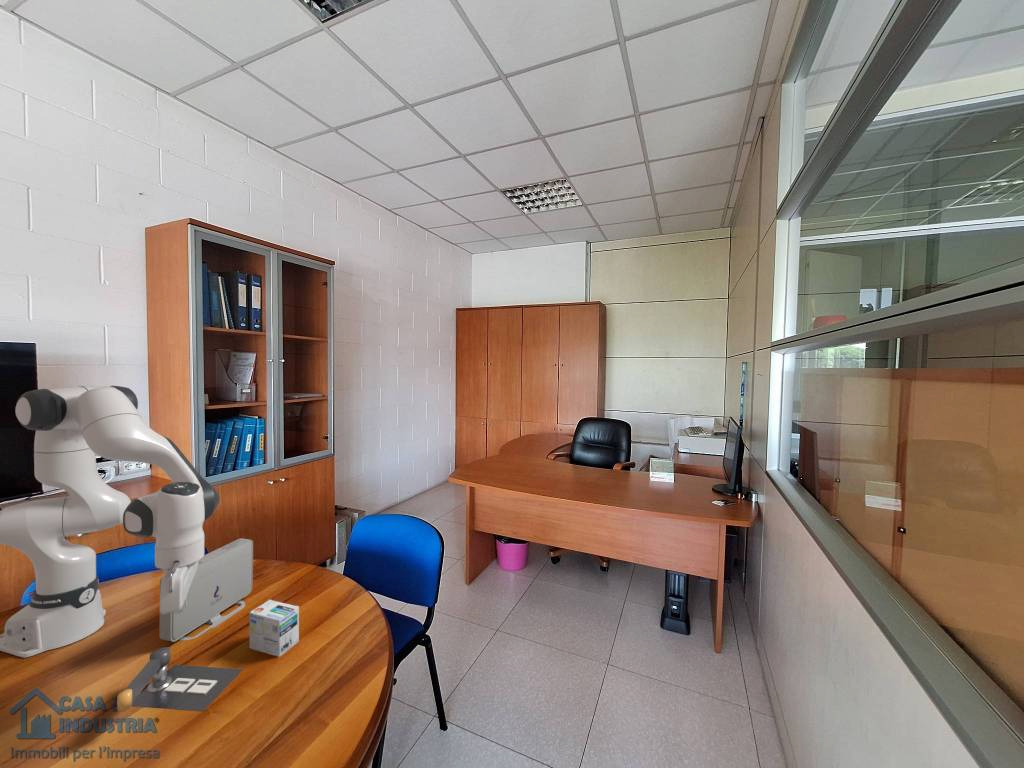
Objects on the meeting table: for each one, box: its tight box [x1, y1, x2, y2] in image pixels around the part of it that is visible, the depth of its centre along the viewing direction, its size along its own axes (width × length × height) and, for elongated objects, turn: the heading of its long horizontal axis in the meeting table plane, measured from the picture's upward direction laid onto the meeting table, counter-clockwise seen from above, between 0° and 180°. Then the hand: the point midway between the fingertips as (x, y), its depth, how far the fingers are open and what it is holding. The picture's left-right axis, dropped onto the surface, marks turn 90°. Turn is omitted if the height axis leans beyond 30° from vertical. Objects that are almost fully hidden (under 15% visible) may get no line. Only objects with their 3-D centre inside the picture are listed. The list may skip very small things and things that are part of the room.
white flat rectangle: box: [187, 679, 217, 694], centre depth 91 cm, size 4×4×1 cm
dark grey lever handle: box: [116, 646, 171, 713], centre depth 86 cm, size 15×4×3 cm, turn 16°
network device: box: [159, 537, 254, 643], centre depth 116 cm, size 26×9×20 cm, turn 168°
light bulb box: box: [249, 599, 300, 658], centre depth 106 cm, size 11×7×11 cm, turn 74°
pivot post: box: [146, 664, 172, 692], centre depth 92 cm, size 4×4×5 cm
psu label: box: [164, 678, 195, 693], centre depth 92 cm, size 4×4×1 cm
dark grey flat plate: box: [131, 664, 244, 712], centre depth 92 cm, size 18×12×1 cm, turn 88°
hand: (180, 610), depth 91 cm, fingers closed
